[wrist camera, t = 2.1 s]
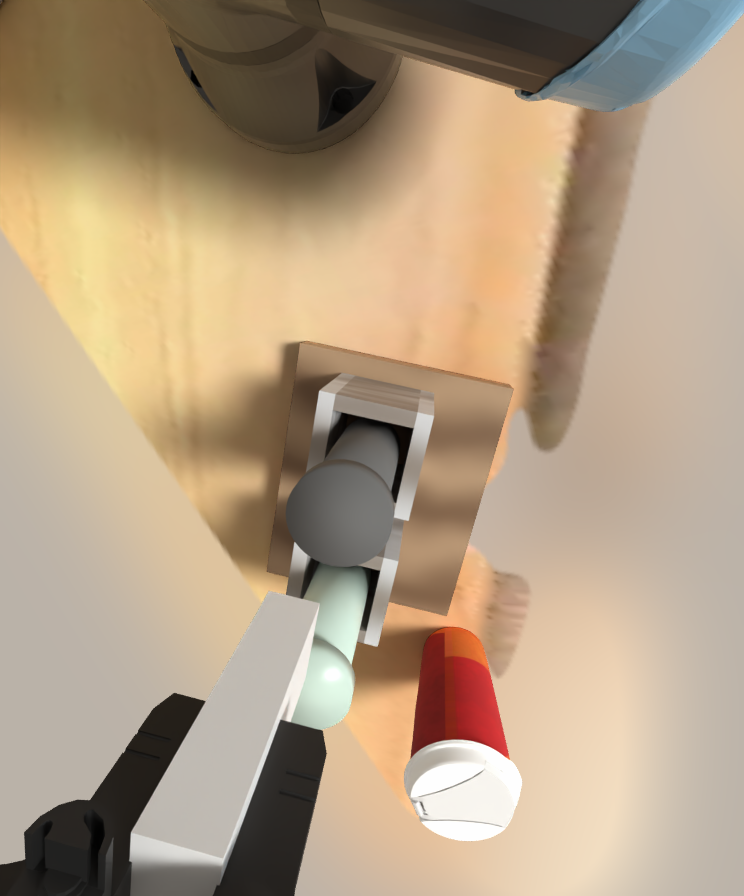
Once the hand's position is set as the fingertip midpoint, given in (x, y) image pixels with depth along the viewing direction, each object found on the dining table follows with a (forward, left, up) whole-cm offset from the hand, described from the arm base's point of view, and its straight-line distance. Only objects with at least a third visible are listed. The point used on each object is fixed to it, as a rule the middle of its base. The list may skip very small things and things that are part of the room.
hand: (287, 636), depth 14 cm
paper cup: (+20, +11, -26) cm, 34 cm away
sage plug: (+10, 0, -19) cm, 21 cm away
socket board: (+5, +1, -26) cm, 26 cm away
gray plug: (0, 0, -19) cm, 19 cm away
